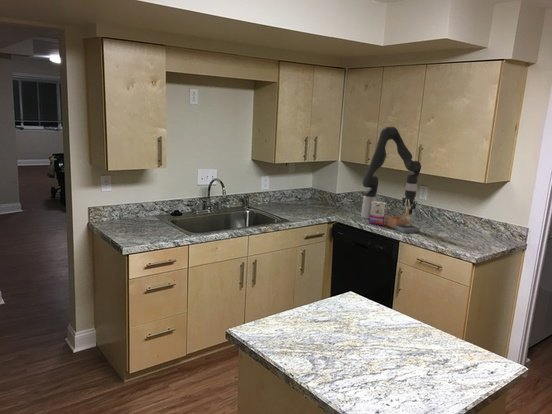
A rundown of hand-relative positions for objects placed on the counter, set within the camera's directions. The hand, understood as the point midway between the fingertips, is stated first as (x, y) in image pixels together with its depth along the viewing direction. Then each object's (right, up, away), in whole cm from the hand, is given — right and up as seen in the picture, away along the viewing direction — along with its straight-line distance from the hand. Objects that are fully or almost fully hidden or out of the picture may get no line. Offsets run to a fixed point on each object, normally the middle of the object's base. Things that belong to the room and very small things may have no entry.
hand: (408, 213), depth 321 cm
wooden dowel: (0, -9, +2) cm, 9 cm away
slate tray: (-1, -12, +3) cm, 12 cm away
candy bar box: (-18, -8, +18) cm, 27 cm away
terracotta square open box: (-5, -10, +12) cm, 17 cm away
